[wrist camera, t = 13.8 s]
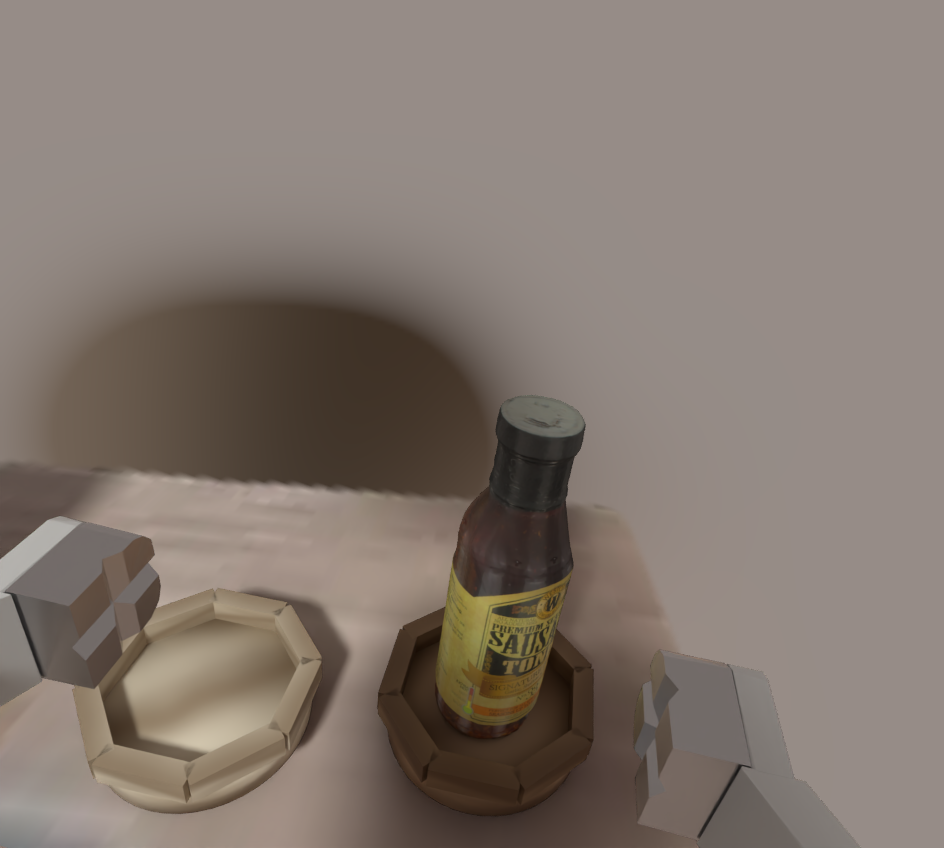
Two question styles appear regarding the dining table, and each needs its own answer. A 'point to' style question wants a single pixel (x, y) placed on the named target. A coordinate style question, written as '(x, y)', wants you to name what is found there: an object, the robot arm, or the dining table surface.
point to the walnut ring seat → (484, 760)
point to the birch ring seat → (201, 702)
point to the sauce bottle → (509, 573)
